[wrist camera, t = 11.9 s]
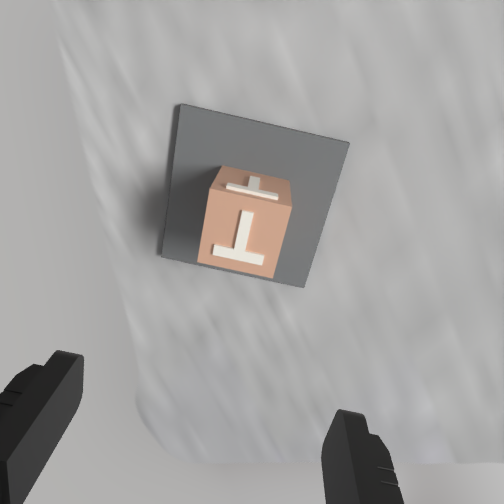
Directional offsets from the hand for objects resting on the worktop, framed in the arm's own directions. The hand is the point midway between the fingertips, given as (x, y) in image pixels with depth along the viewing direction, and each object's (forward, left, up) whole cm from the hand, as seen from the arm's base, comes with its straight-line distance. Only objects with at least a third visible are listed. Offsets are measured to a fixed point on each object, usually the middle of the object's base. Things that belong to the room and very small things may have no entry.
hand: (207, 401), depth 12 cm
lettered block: (0, 0, -19) cm, 19 cm away
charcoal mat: (0, 0, -20) cm, 20 cm away
